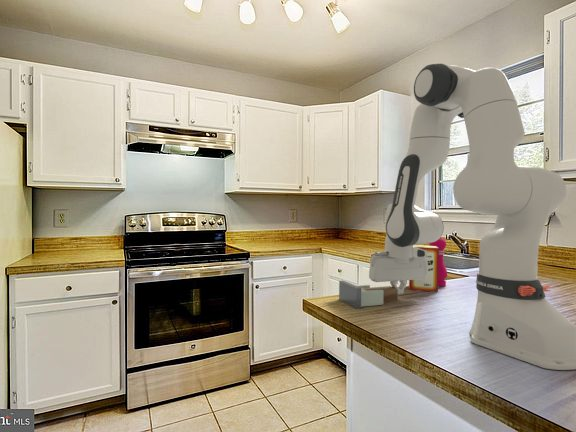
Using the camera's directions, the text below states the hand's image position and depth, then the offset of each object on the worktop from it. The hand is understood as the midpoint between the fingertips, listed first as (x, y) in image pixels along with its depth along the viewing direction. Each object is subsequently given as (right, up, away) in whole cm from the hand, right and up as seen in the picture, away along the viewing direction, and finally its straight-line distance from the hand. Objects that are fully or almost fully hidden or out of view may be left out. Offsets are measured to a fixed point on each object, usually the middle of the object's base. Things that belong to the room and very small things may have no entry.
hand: (398, 294), depth 111 cm
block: (-12, -2, -4) cm, 13 cm away
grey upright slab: (-17, -2, -6) cm, 18 cm away
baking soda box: (+14, -2, +15) cm, 21 cm away
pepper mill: (+22, -2, +22) cm, 31 cm away
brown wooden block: (-7, -2, -2) cm, 8 cm away
